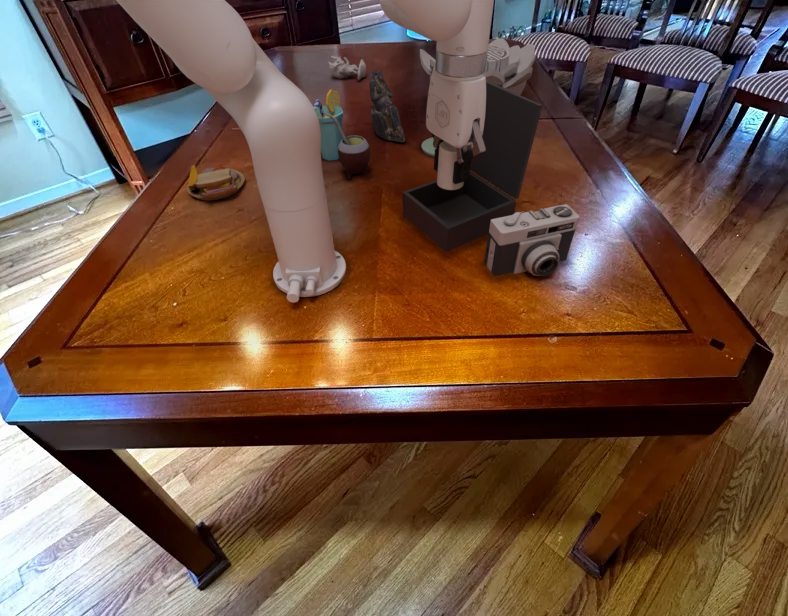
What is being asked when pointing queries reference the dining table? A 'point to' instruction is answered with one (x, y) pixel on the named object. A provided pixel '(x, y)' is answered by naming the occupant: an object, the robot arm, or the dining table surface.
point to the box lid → (506, 139)
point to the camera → (530, 241)
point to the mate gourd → (352, 152)
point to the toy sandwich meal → (214, 183)
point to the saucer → (428, 147)
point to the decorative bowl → (500, 65)
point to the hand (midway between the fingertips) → (451, 174)
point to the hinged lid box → (456, 210)
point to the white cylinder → (447, 166)
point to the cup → (330, 124)
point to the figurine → (346, 68)
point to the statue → (384, 110)
